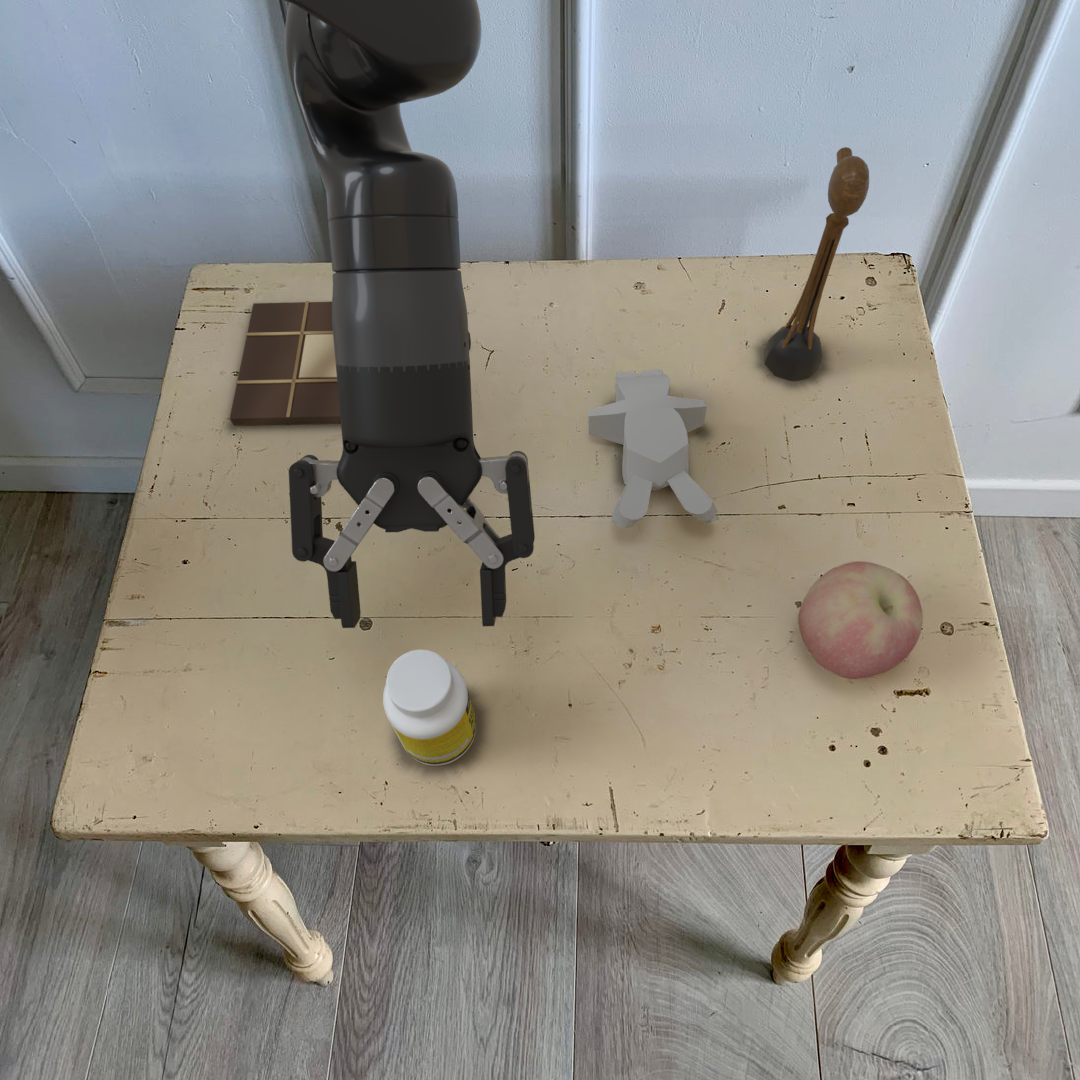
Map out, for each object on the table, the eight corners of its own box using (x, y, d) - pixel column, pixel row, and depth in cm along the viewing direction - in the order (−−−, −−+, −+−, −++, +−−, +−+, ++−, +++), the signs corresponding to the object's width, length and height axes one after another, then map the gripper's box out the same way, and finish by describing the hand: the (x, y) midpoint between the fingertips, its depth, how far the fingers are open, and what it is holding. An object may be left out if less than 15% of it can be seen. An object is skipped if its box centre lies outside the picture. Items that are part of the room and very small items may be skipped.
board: (233, 425, 75) (228, 417, 74) (256, 310, 81) (252, 301, 80) (420, 422, 75) (418, 413, 74) (429, 306, 81) (427, 297, 80)
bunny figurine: (697, 351, 72) (734, 494, 64) (691, 396, 77) (725, 536, 68) (582, 361, 72) (604, 505, 64) (582, 405, 76) (602, 546, 68)
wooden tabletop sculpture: (763, 327, 79) (819, 126, 61) (816, 330, 78) (888, 129, 61) (764, 379, 76) (823, 184, 58) (819, 382, 76) (895, 188, 58)
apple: (871, 715, 61) (909, 675, 54) (770, 660, 64) (795, 615, 57) (913, 626, 65) (955, 577, 58) (816, 576, 67) (845, 523, 60)
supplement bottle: (491, 742, 61) (478, 695, 53) (421, 781, 60) (396, 740, 52) (455, 678, 64) (438, 623, 55) (387, 714, 63) (358, 665, 54)
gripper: (256, 364, 47) (288, 649, 51) (526, 357, 46) (534, 645, 51) (296, 353, 54) (321, 603, 58) (530, 347, 53) (537, 600, 58)
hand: (420, 622), depth 55 cm, fingers open, 8 cm apart
